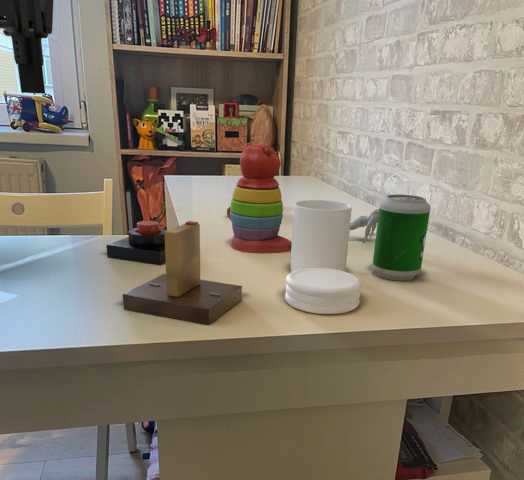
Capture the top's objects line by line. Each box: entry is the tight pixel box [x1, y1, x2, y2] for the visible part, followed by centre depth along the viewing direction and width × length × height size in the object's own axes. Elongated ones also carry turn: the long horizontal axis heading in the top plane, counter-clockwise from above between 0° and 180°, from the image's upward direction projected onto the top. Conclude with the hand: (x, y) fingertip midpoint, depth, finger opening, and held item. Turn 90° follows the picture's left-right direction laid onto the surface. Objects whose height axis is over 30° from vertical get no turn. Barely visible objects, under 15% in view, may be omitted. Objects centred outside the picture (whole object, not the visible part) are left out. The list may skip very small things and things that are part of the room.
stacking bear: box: [229, 141, 292, 254], centre depth 98 cm, size 11×10×18 cm
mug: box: [290, 199, 353, 273], centre depth 87 cm, size 9×12×11 cm
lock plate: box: [122, 273, 243, 326], centre depth 72 cm, size 12×10×2 cm
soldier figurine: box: [350, 208, 379, 244], centre depth 109 cm, size 6×5×12 cm
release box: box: [105, 227, 169, 266], centre depth 93 cm, size 10×10×4 cm
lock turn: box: [165, 220, 201, 297], centre depth 70 cm, size 6×2×8 cm, turn 158°
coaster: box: [284, 268, 362, 315], centre depth 75 cm, size 10×10×4 cm
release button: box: [136, 220, 161, 234], centre depth 92 cm, size 4×4×2 cm
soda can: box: [371, 193, 432, 281], centre depth 86 cm, size 8×8×12 cm
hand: (33, 92), depth 75 cm, fingers closed
